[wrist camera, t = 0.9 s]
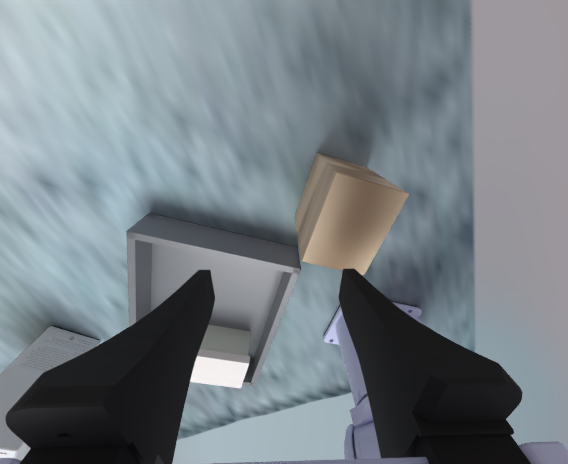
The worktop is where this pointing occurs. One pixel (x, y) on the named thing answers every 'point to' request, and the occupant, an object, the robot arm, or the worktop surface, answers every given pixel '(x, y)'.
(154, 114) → the worktop surface
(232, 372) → the white box
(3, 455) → the small box
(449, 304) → the worktop surface
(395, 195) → the wood block
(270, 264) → the tray
